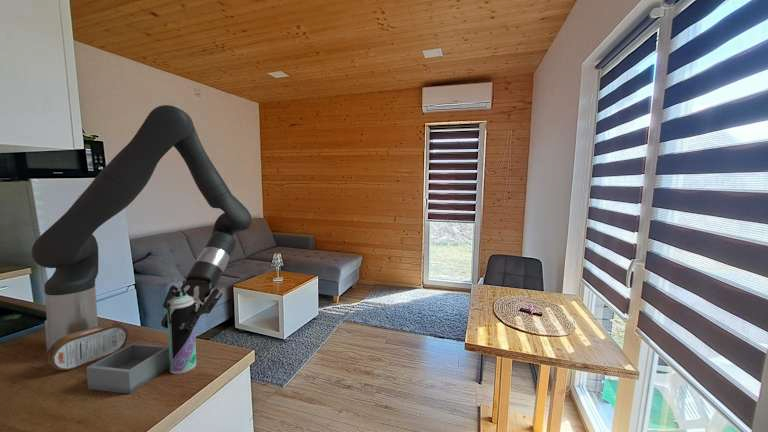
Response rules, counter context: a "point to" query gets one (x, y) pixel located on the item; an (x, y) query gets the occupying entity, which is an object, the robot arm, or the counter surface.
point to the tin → (86, 346)
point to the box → (128, 368)
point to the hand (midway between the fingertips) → (175, 327)
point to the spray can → (181, 333)
